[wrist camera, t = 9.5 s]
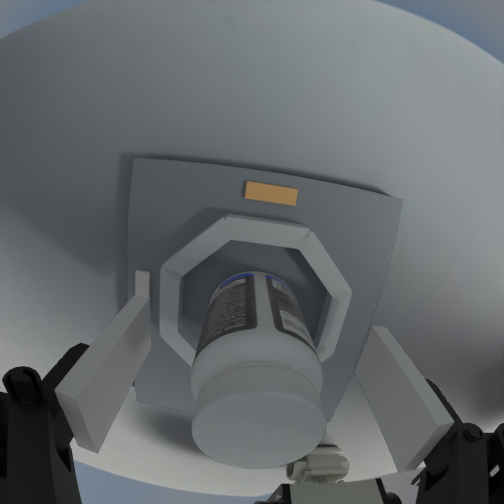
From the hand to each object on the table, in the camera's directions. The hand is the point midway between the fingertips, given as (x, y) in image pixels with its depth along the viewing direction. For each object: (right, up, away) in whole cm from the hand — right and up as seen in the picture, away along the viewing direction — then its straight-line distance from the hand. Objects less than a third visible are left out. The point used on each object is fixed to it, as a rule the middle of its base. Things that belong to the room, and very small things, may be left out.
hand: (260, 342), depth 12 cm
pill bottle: (0, +1, +3) cm, 3 cm away
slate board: (-1, 0, +4) cm, 4 cm away
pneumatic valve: (+5, -15, +9) cm, 18 cm away
